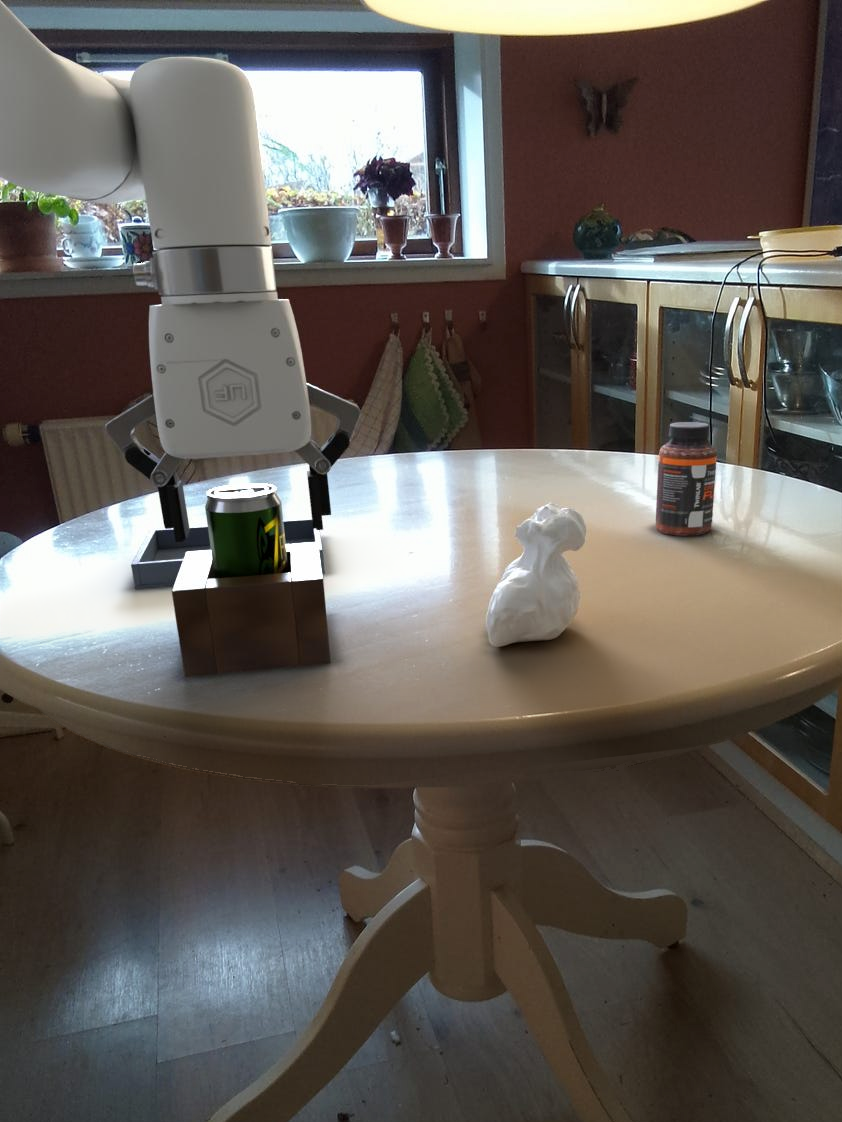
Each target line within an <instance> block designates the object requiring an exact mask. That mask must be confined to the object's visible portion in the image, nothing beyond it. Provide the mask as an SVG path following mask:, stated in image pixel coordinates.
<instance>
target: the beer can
mask: <svg viewBox="0 0 842 1122" xmlns="http://www.w3.org/2000/svg"><path fill="white" fill-rule="evenodd" d="M206 499H207V500H206V503H205V506H204V509H205V516H206V517H205V518H206V524H207V526H208V532H209V539H210V546H211V554H212V561H213V568H214V576H215V579H217V578H230V577H242V576H254V575H267V574H279V573H289V571H288V561H287V552H286V542H285V533H284V523H283V520H284V514H283V506H282V505H283V504H282V501H281V499H280V497H279V495H278V490H277V487H276V486H275V485H273V484H268V483H238V484H237V483H236V484H235V483H234V484H229V485H223V486H218V487H213V488H212V489H209V490H208V491H206Z"/></svg>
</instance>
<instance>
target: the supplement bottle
mask: <svg viewBox="0 0 842 1122" xmlns="http://www.w3.org/2000/svg"><path fill="white" fill-rule="evenodd" d="M668 430H669V432H668V436H669V438H670V440H669V441H668V442H666V443H665V444H663V445H662V446H661V447H660V449H659V452H658V463H657V481H656V482H657V484H656V502H655V503H656V505H655V528H656V530H658V531H659V532H660V533H663V534H665V535H671V536H678V537H679V536H680V537H695V536H701V535H705V534H707V533H710V531H711V530H712V525H713V524H712V523H713V517H714V502H715V486H716V474H717V473H716V472H717V458H718V452H717V449H716V447H715V446H713V445H712V444H711V442H710V441H709V437H710V425H709V424H708V423H705V422H700V421H699V422H696V421H679V422H672V423H670V424H669V429H668Z"/></svg>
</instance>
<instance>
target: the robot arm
mask: <svg viewBox="0 0 842 1122" xmlns="http://www.w3.org/2000/svg"><path fill="white" fill-rule="evenodd" d="M261 143H262V142H261V135H260V126H259V117H258V108H257V101H256V95H255V90H254V87H253V84H252V82H251V80H250V78H249V76H248V75H247V74H246V72H244V70H242V69H241V68H240V67H239V66H237V65H235V64H233V63H231V62H227V61H225V60H222V59H217V58H210V57H199V56H170V57H169V56H168V57H163V58H162V57H161V58H157V59H153V60H150V61H147V62H145V63H143V64H140V65H139V66H138V67H137V68H135V70H134V72H133V73H132V76H131V78H130V80H125V79H118V78H116V77H112V76H108V75H106V74H103V73H99V72H97V71H94V70H92V69H89V68H87V67H86V66H83V65H81V64H79V63H76V62H74V61H73V60H71V59H68V58H66V57H64V56H62V55H59V54H57V53H55V52H53V51H51V49H50V48H48V47H47V46H46V45H45V44H44V43H42V41H40V39H38V38H37V37H36V36H35V34H34V33H33V32H31V30H30V29H29V28H28V27H27V26H26V25H25V24H24V23H23V22H22V21H21V20H20V19H19V17H17V15H15V14H14V12H12V11H11V9H9V7H8V6H7V5H6V4H5V3H4V2H3V1H2V0H0V178H2V179H3V180H5V181H7V182H8V183H10V184H12V185H14V186H16V187H18V188H21V189H23V190H27V191H31V192H36V193H40V194H47V195H53V196H61V197H65V198H69V199H72V200H77V201H82V202H88V203H92V204H99V205H100V204H101V205H116V204H117V205H119V204H125V203H130V202H134V201H138V200H143V199H145V204H146V209H147V217H148V223H149V228H150V235H151V240H152V246H153V250H154V251H152V257H150V258H149V260H145V261H144V262H143V263H133V264H132V273H133V278H134V283H135V285H136V287H137V286H147V287H148V288H154V290H155V291H158V295H159V296H160V300H161V304H152V305H151V304H150V305H149V311H148V349H149V363H150V374H151V384H152V394H151V395H149V396H148V397H146V398H144V399H143V400H141V401H139V402H138V403H136V404H135V405H132V407H129V408H128V409H126V410H125V411H123V412H122V413H120V414H119V415H117V416H115V417H114V418H112V419H111V420H109V421H108V422H107V423H105V426H104V432H105V433H106V435H107V436H108V437H109V438H110V440H111V441H112V443H113V444H114V445H115V447H116V448H117V449H118V450H119V452H120V453H121V454H122V455H123V457H124V459H125V461H126V462H127V463H128V464H129V465H130V466H131V467H133V468H134V469H135V470H137V471H138V472H139V473H141V474H142V475H143V476H145V477H146V478H147V479H148V480H150V482H151V484H153V485H154V486H155V487H157V492H158V498H159V503H160V509H161V515H162V522H163V526H164V529H170V528H173V530H174V536H175V541H176V542H184V540H186V539H187V537H188V534H189V532H190V529H189V527H190V523H189V517H188V510H187V503H186V496H185V492H184V485H183V480H180V478H179V477H178V474H177V470H178V468H179V467H180V465H181V464H182V463H183V461H184V459H185V460H198V459H215V458H230V457H243V456H256V455H268V454H269V455H270V454H281V453H290V452H295V453H296V454H297V455H298V456H299V457H300V458H301V459H302V460H304V461H305V463H307V465H308V467H309V469H308V470H307V471H306V475H307V484H308V494H309V504H310V513H311V518H312V523H313V529H316V530H320V531H323V530H324V524H323V516H324V517H325V516H332V508H331V498H330V487H329V476H328V473H329V472H330V471H331V469H332V467H333V466H334V465H335V464H336V463H337V461H338V460H339V459H340V458H341V457H342V455H343V454H344V453H345V452H346V451H347V449H348V448H349V446H350V444H351V440H352V438H353V436H354V434H355V431H356V429H357V426H358V425H359V421H360V419H361V417H362V410H361V409H360V407H359V406H358V405H357V404H355V403H353V402H352V401H348V400H346V399H344V398H342V397H339V396H338V395H335V394H333V393H331V392H328V391H326V390H323V389H321V388H319V387H318V386H315V385H312V384H310V383H308V382H307V376H306V370H305V366H304V365H305V364H304V359H303V352H302V347H301V342H300V341H301V340H300V336H299V332H298V331H299V330H298V327H297V324H296V320H295V319H296V318H295V315H294V312H293V308H292V305H291V303H290V299H287V298H286V299H283V298H281V299H279V298H278V292H277V291H278V289H277V281H276V280H277V279H276V271H275V270H276V269H275V261H274V253H273V247H272V246H273V245H272V235H271V228H270V227H271V226H270V217H269V208H268V200H267V189H266V181H265V172H264V162H263V161H264V160H263V154H262V145H261ZM311 406H312V407H314V408H316V409H318V410H321V411H324V412H325V413H327V414H330V415H332V416H334V417H336V418H337V423H336V427H335V428H334V431H333V433H332V434H331V435H330V436H329V438H328V439H327V441H326V442H325V443H324V444H323V445H322V446H321V447H320V446H319V444H317V443H316V441H314V440H313V439H312V438H311V437H312V417H311V415H312V414H311ZM154 417H155V418H156V426H157V431H158V437H159V441H160V445H161V447H162V449H163V451H164V454H163V455H162V457H161V458H159V457H158V456H156V455H155V454H153V453H152V452H151V451H150V450H148V449H147V448H145V446H144V445H142V444H141V443H140V441H139V440H138V438H137V437H136V435H135V429H136V428H138V427H140V426H141V425H143V424H144V423H146V422H147V421H149V420H150V419H152V418H154Z"/></svg>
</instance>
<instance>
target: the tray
mask: <svg viewBox="0 0 842 1122" xmlns="http://www.w3.org/2000/svg"><path fill="white" fill-rule="evenodd" d="M283 523H284V533H285V542H286V544H299V543H312V542H318V545H319V552H320V559H321V567H322V574H323V575H325V574H326V573H325V572H326V571H325V563H324V562H325V561H324V560H325V559H324V550H323V542H322V537H321V530H316V529H313V523H312V517H309V518H298V519H283ZM189 529H190V532H189V534H188V537H187V539H186V540H184V542H176V541H175V536H174V530H173V528H170V529H165V528H157V529H156V528H155V529H150V530H149V531H148V533H147V535H146V537H145V539H144V540H143V542H142V544H141V546H140V547H139V549H138V551H137V553H136V555H135V557H134V559H133V560H132V562H131V564H130V567H131V572H132V573H131V574H132V579H133V585H134V589H135V590H142V589H155V588H166V587H173V586H174V584H175V581H176V578H177V576H178V573H179V570H180V567H181V565H182V562H183V559H184V556H185V554H186V552H192V551H205V550H211V546H210V539H209V532H208V525H199V526H198V525H197V526H189Z"/></svg>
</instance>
